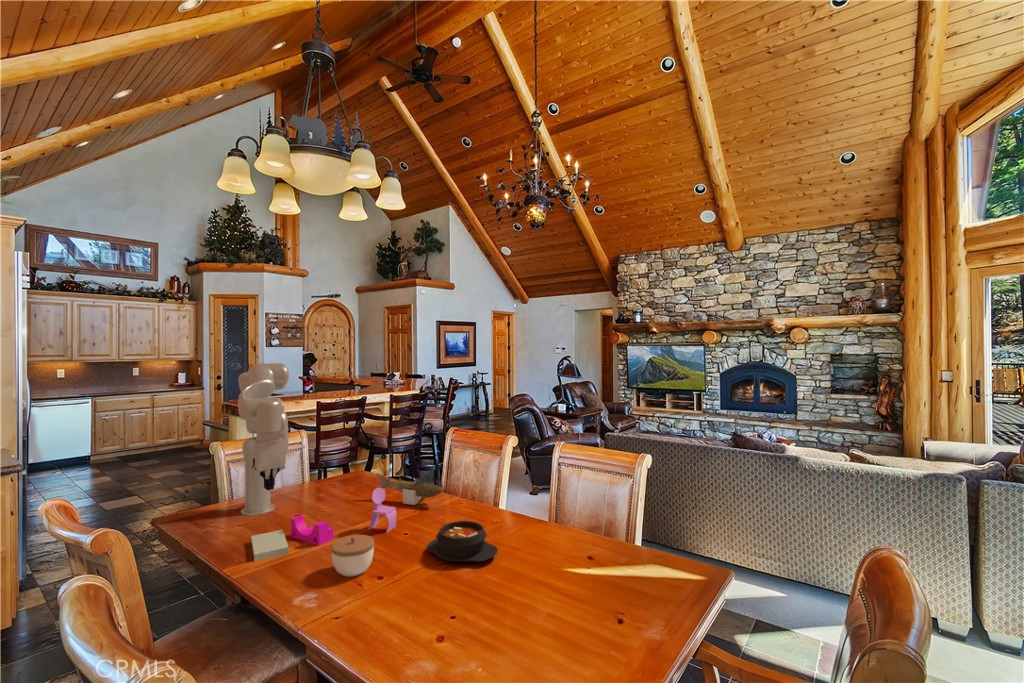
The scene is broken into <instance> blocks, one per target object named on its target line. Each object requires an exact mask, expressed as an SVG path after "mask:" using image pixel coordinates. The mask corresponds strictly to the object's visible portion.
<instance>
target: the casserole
mask: <svg viewBox="0 0 1024 683" xmlns="http://www.w3.org/2000/svg"><path fill="white" fill-rule="evenodd" d="M487 536H488V534H487V531H486V529H484V526H483V525H482V524H480V523H478V522H477V521H471V520H460V521H458V520H457V521H453V522H449V523H446V524H444V525H443V526H442V527H440V529H439V531H438V533H437V534H436V537H435V538H434V539H433V540H431V541H430V542H429V543H428V544H427V545H426V550H427V551H428V552H430V553H432V554H434V555H435V556H436V557H438V558H439V559H441V560H444V561H447V562H455V563H457V562H459V563H460V562H462V563H463V562H476V563H479V562H480V563H483V562H486V561H488V560H490V559H492V558H493V557H495V555H497V553H498V551H499V550H498V549H499V548H498V547H497V546H496V545H494V544H491V543H489V542H487V541H486V538H487Z"/></svg>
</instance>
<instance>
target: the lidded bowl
mask: <svg viewBox="0 0 1024 683" xmlns="http://www.w3.org/2000/svg"><path fill="white" fill-rule="evenodd" d="M330 547H331V559H332V565H333V567H334V569H335V571H336V572H337V573H338V574H340V575H341V576H343V577H349V578H351V577H356V576H359V575H362V574H363V573H365V572H366V571H367V569H368V568H369V567H370V565H371V563H372V562H373V558H374V552H375V550H374V547H375V539H374V537H372V536H370V535H366V534H354V535H353V534H352V535H348V536H344V537H342V538H339V539H337V540H336V541H334V542H333V543H332V544H331V546H330Z"/></svg>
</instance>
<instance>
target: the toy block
mask: <svg viewBox="0 0 1024 683" xmlns="http://www.w3.org/2000/svg"><path fill="white" fill-rule="evenodd" d="M304 517H305V516H304V515H300V514H299V515H296V516H293V517H291V518H290V537H291V538H292V539H296V540H300V541H302V542H307V543H310V544H313V545H316V546H321V544H322V545H324V544H326V543H327V542H330V541H332V540H334V539H335V538H334V536H335V535H334V534H335V533H334V531H335V530H334V527H332V526H331V527H330V526H329V522H328V521H324V520H321V521H319V522H317V523H315V524H313V526H310V527H308V525H307V523H306V521H305V518H304Z"/></svg>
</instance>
